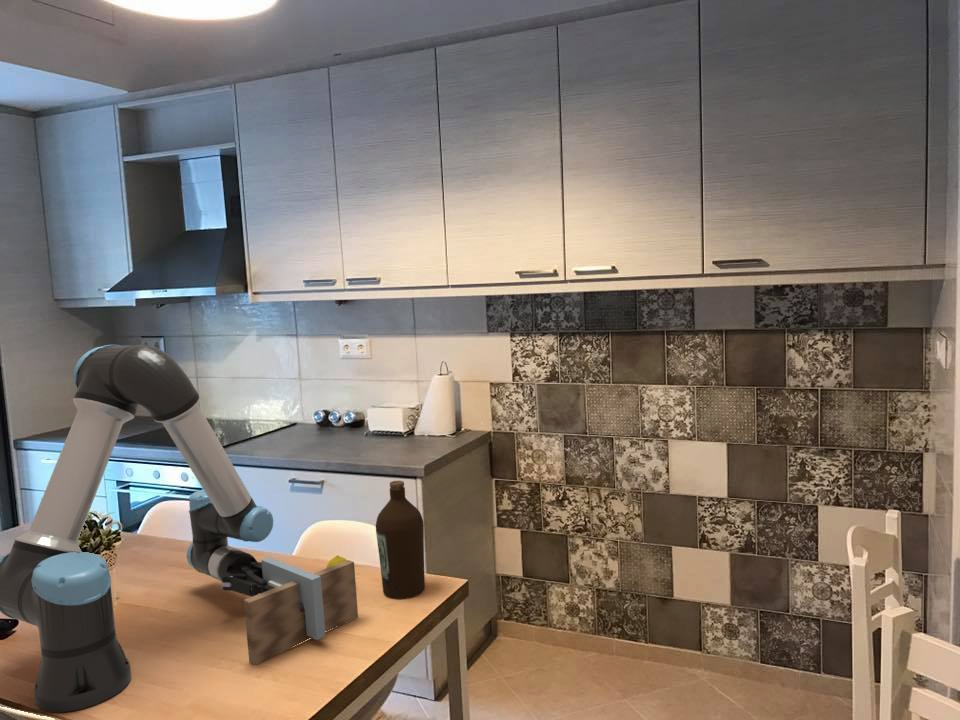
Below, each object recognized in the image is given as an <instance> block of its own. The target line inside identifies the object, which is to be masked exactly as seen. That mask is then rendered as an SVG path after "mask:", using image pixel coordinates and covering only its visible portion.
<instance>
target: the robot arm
mask: <svg viewBox="0 0 960 720" xmlns="http://www.w3.org/2000/svg"><path fill="white" fill-rule="evenodd" d="M72 378H73V379H72V380H73V383H74V385H75V389H76V392H75V394H74V397H73V399H72V401H73V403H74V405H75V407H76V411H77V412H76V415H75V418H74V419H73V422H72V425H71V427H70V429H69V432H68V434H67V436H66V438H65V442H64V444H63V446H62V449H61V452H60V454H59V456H58V459H57V461H56V463H55V466H54V469H53V470H52V473H51V475H50V478H49V480H48V483H47V485H46V487H45V490H44V492H43V495H42V497H41V498H42V500H41V499H40V502H39V505H38V508H37V510H36V511H35V512H36V513H35V515H34V517H33V520H32V522H31V523H30V527H29V529H28V530H27V531H26V532H25V533H23V534H21V535H20V536H17V537H16V538H15V539H14V543H13V544H12V547H11V549H10V552H7V553H6V554H5V555H3V556H2V557H0V612H1V613H2V614H3V615H4V616H6V617H8V618H11V619H12V620H13V619H14V620H15V619H16V620H18V621H22V622H25V623H28V624H30V625H32V626H36V627H37V628H38V635H39V644H40V651H41V658H40V659H41V660H40V666H39V670H38V676H37V681H36V683H35V686H34V689H33V690H34V691H33V695H34V702H35V705H36V707H37V708H38V709H39V710H41V711H44V712H48V713H49V712H50V713H67V712H72V711H74V712H75V711H77V710H83V709H86V708H88V707H92V706H95V705H98V704H100V703H103V702H105V701H107V700H109V699H110V698H112V697H114V696H116V695H118V694H119V693H120V692H122V691H123V690H124V689H125V688H126V687H127V686H128V685H129V683H130V682H131V680H132V671H131V664H130V661H129V659H128V658H127V657H126V654H125V653H124V652H125V651H124V650H123V648H122V646H121V644H120V642H119V640H118V638H117V633H116V623H115V613H114V605H113V604H114V603H113V593H112V576H111V573H110V570H109V566H108V563H107V561H106V560H105V558H103V556H99V555H97V554H94V553H89V552H82V551H81V549H80V547H79V544H78V539H79V537H80V534H81V531H82V529H83V526H84V524H85V521H86V518H87V516H89V512H91V511H90V510H91V508H92V505H93V503H94V500H95V497H96V494H97V493H98V490H99V487H100V483H102V480H103V476H104V473H105V471H106V469H107V467H108V463H109V461H110V459H111V455H112V453H113V451H114V448H115V445H116V443H117V440H118V438H119V435H120V434H121V433H120V432H121V430H122V427H123V425H124V424H125V423H127V422H129V421H131V420H133V419H135V416H136V413H137V412H138V411H137V410H138V408H139V406H141V407H143V408H144V409H145V410H146V411H147V412H148V413H149V415H150V416H151V418H152V419H153V421H154V422H156V423H160V424H162V425H163V427H164V428H165V430H166V431H167V433H168V434H169V436H170V438H171V440H172V441H173V443H174V444H175V446H176V447H177V449H178V450H179V452H180V454H181V455H182V457H183V459H184V461H185V463H186V464H187V465H188V467H189V468H190V471H191V472H192V473H193V474H194V476H195V478H196V480H197V481H198V483H199V485H200V486H201V488H202V489H201V490H200V489H199V490H197V491H194V492H193V493H191V495H190V496H189V498H188V503H189V504H188V505H189V510H188V513H189V519H190V526H191V535H192V543H190V544H189V547H188V548H187V549H188V550H187V552H186V559H187V563H188V564H189V566H190V567H192V568H193V569H194V570H195V571H197V572H198V573H200V574H204V575H206V576H210V577H211V578H213V579H215V580H218V581H220V582H222V590H223V591H232V592H234V593H239V594H242V595H245V596H248V597H253V596H255V595H258V594H261V593H263V592H266V591H268V590H271V589H274V588H276V587H279V586H282V585H281V584H278V583H276V582H274V581H268V584H267V582H266V581H265V580H263V573H262V562H260V561H257V559H256V558H255V557H254V556H253V555H252V554H250V553H249V552H246V551H243V550H241V549H238V548H236V547H233V546H230V545H229V543H228V542H229V541H228V538H230V539H233V540H234V539H235V540H239V541H243V542H250V543H251V542H252V543H260V542H262V541H264V540H265V539H266V538H268V536H270V534H271V532H272V531H273V527H274V517H273V514H272V512H271V511H270V510H269V509H268V508H265V507H263V506H260V505H257V504H256V502H255V501H254V499H253V498H252V496H251V494H250V492H249V491H248V489H247V487H246V485H245V484H244V481H243V480H242V478H241V476H240V475H239V474H238V472H237V470H236V468H235V466H234V464H233V463H232V461H231V459H230V458H229V456H228V454H227V452H226V450H225V449H224V447H223V445H222V444H221V441H220V440H219V438H218V436H217V435H216V433H215V431H214V430H213V428H212V427H211V425H210V423H209V421H208V420H207V417H206V416H205V414H204V412H203V409H201V407H200V406H199V402H200V399H201V397H200V394H199V392H198V391H197V390H196V388H195V386H194V384H193V383H192V381H191V380H190V378H189V377H188V375H187V373H185V371H184V370H183V369H182V367H181V366H180V365H179V364H178V362H176V361H175V360H174V359H173V358H172V357H171V356H170V355H169V354H167V353H166V352H165V351H163V350H162V349H160V348H157V347H154V346H151V345H147V344H138V345H120V344H108V345H107V344H105V345H103V346H98V347H94V348H92V349H90V350H87V352H86V353H84V354H83V355H82V356H81V357H80V358H79V360H78V361H77V362H76V364H75V366H74V369H73V376H72Z"/></svg>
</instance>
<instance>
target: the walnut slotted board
mask: <svg viewBox="0 0 960 720" xmlns="http://www.w3.org/2000/svg"><path fill="white" fill-rule="evenodd" d="M346 560H347V561H344V562H342V563H339V564H336V565H334V566H331V567H328V568H327V567H326V568H324V569H321V570H319V571H316V572H313V574H316V575H318V576H321V585H322V597H323V610H324V622H325V631H328V630H330V629H332V628H335V627H336V626H339V625H341V626H343V625H345V624H347V623H346V622H348V623H350V622H352V621H354V620H356V619H358V618H359V612H358V609H359V608H358V599H357V585H356V584H357V583H356V570H355V562H354V561H352V560H349V559H346ZM243 607H244V608H243V610H244V618H245V628H246V629H245V630H246V631H245V632H246V640H247V641H246V642H247V643H246V644H247V651H248V662H249V663H251V664H252V665H254V666H256V665H258V664H261V663H262V662H265V661H267V660H269V659H271V658H274V657H275V656H278V655H280V654H282V653H285V652H287V651H288V650H287V649H289V650H291V649H292V647H293V646H295V645H297V644H299V643H301V642H303V641H305V640H307V639H309V638H312V637H310V636H308V635H307V631H306V619H305V608H304V609H302V610H300V604H299V592H298V584H297V583H294V582H289V583H287V584H284V585H282V586H279V587H276V588H274V589H271V590H268V591H266V592H263V593H261V594H258V595H255V596H253V597H251V596H249V597H248V598H245V599H243ZM353 619H354V620H353ZM349 621H350V622H349ZM344 623H345V624H344ZM342 624H343V625H342ZM339 627H340V626H339ZM335 629H336V628H335ZM332 630H333V629H332ZM330 631H331V630H330ZM328 632H329V631H328ZM295 647H296V646H295ZM290 648H291V649H290ZM293 648H294V647H293ZM286 650H287V651H286ZM284 651H285V652H284ZM279 653H280V654H279Z"/></svg>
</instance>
